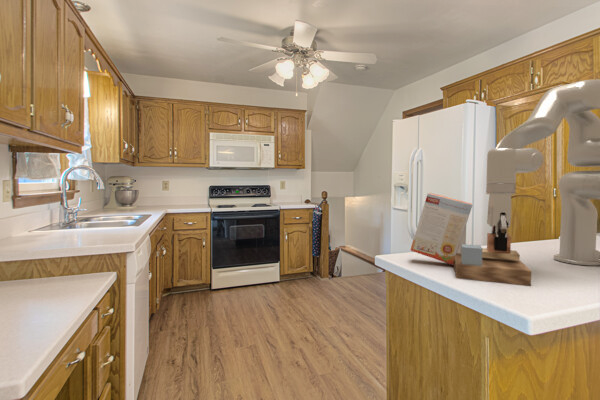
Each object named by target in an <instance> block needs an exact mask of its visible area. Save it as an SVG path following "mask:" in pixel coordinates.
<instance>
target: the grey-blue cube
mask: <svg viewBox="0 0 600 400" xmlns="http://www.w3.org/2000/svg"><path fill="white" fill-rule="evenodd" d="M482 248H483V247H482V246H481V245H479V244H468V243H466V244H461V262H462V264H464V265H475V266H482V250H483V249H482Z"/></svg>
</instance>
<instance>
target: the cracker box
mask: <svg viewBox="0 0 600 400" xmlns="http://www.w3.org/2000/svg"><path fill="white" fill-rule="evenodd" d="M424 201H425V202H424V204H423V207H422V211H421V214H420V217H419V220H418V224H417V227H416V231H415V232H414V233H415V234H414V237H413V240H412V244H411V247H410V251H411V252H414V253H416V254H420V255H422V256H425V257H428V258H431V259H435V260H437V261H440V262H443V263H446V264H448V265H453V263H454V255H456V254H457V251H458V248H459V245H460V242H461V239H462V236H463V233H464V230H465V227H466V228H467V223H468V221H469V217H470V214H471V211H472V208H473V204H472V203H471V202H467V201H463V200H459V199H456V198H452V197H447V196H444V195H441V194H435V193H432V192H427V195H426V199H425V200H424ZM453 266H454V265H453Z"/></svg>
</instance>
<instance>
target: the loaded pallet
mask: <svg viewBox="0 0 600 400" xmlns="http://www.w3.org/2000/svg"><path fill="white" fill-rule="evenodd" d="M494 237H496V234H493V233H492V232H491V233H490V232H487V238H486V248H485V247H482V249H483V250H482V258H493V259H504V260H515V261H519V260H520V254H519V252H518V251H517V250H512V249H511V245H512V244H511V243H512V240H511V239H512V236H511V235H510V234H509V233H507V251H496V250H494Z"/></svg>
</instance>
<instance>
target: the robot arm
mask: <svg viewBox="0 0 600 400" xmlns="http://www.w3.org/2000/svg"><path fill="white" fill-rule="evenodd" d="M599 109H600V78H597V79H584V80H579V81H575V82H571V83H567V84H564V85H563V84H562V85H560V86H556V87H553V88H550V89H549V90H547V91H546V92H545V93H543V95H542V96H541V98H540V99H539V101H538V103H537V104H536V105H535V108H534V109H533V111H532V112H531V114H530V115H529V116H528V119H526V121H524V122H523V123H522V124H521V123H520V125H518V126H517V127H516V128H514V129H513V130H511V131H509V132H508V133H507V134H506V135H505V136H503V137H502V138H501V139H500V141H499V142H498V143H497V145H495V146H496V147H494V148H492V149H490V150H488V151H487V157H486V186H485V188H486V189H485V191H486V192H485V194H486V195H489V196H488V205H487V219H486V223H487V225H489V226H490V227H491V233H493V234H496V237H494V250H496V251H507V234H508V228H510V227H511V221H512V195H516V188H517V187H516V184H517V174H524V173H525V174H527V173H533V172H536V171H537V170H539V169H540V168H541V167H542V165H543V163H544V156H543V154H542V152H541V151H540V150H539V149H537V148H535V147H526V146H529V145H532V144H534V143H536V142H539V141H542V140H543V139H546V138H548V137H550V136H552V135H553V134H554V133H556V131H557V130H558V128H559V126H560V125H561V124H562V121H563V120H565V121H566V122H567V124H568V129H569V130H568V131H569V132H568V142H567V143H568V145H567V162H568V164H569V165H570V166H572V167H575V168H576V167H578V168H588V167H589V168H591V167H593V168H594V167H595V168H596V167H598V168H599V167H600V118H599V117H598V116H597V115H596V114H595V113H594V112H592V111H595V110H599ZM558 190H559V195H560V202H561V212H560V231H559V232H560V234H559V236H560V237H559V249H558V250H559V251H558V253H556V254H554V255H553V259H554V260H555V261H557V262H562V263H565V264H566V263H567V264H571V265H579V266H580V265H581V266H591V267H592V266H595V267H596V266H600V251H599V250H597V249H596V247H597V234H598V233H597V232H598V231H597V230H598V229H597V228H598V210H597V208H596V206H595V205H594V203H593V202H592V201H591V200H600V170H575V171H574V170H573V171H569V172H566V173H565V174H562V176H561V177H560V179H559V182H558Z"/></svg>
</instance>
